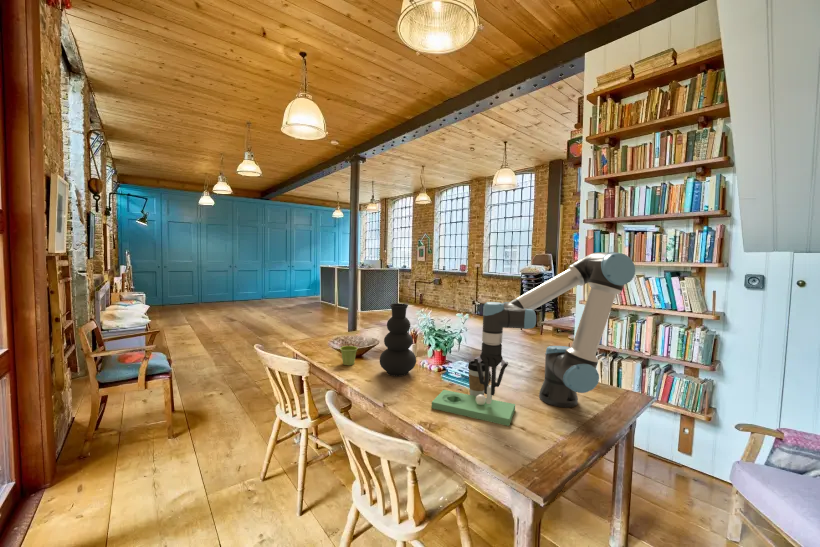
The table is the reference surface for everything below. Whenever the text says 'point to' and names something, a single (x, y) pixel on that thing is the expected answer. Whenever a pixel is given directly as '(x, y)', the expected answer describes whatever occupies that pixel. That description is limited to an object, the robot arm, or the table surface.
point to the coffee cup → (475, 379)
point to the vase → (398, 343)
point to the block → (474, 407)
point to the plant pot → (348, 354)
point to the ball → (480, 399)
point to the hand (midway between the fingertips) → (489, 402)
